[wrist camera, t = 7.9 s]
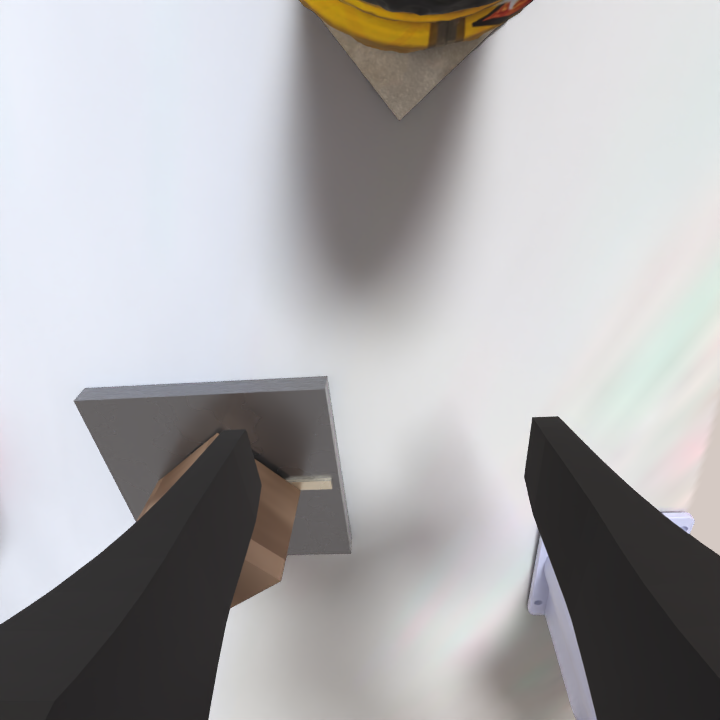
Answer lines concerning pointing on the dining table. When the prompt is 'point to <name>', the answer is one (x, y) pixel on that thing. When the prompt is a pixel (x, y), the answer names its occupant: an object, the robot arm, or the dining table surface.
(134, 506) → the hub plate
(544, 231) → the dining table surface
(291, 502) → the taped cardboard box
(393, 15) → the condiment
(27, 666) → the robot arm
